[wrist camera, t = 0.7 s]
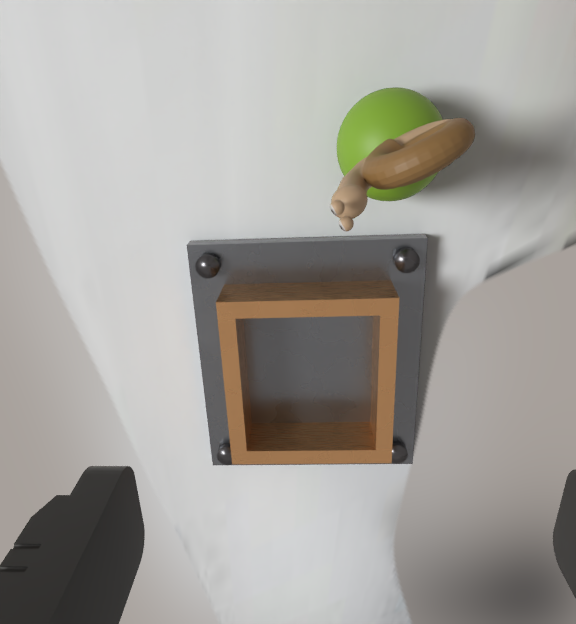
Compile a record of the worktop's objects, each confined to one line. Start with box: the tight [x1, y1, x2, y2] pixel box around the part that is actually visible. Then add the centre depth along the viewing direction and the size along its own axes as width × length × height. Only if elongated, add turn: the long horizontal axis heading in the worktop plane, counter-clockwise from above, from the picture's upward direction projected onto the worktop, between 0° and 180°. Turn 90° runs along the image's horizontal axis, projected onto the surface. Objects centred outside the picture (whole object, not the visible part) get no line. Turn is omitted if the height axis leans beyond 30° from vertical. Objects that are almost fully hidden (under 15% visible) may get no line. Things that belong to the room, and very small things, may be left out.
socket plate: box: [187, 234, 428, 465], centre depth 31 cm, size 16×14×4 cm
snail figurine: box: [330, 88, 475, 231], centre depth 22 cm, size 5×6×12 cm
